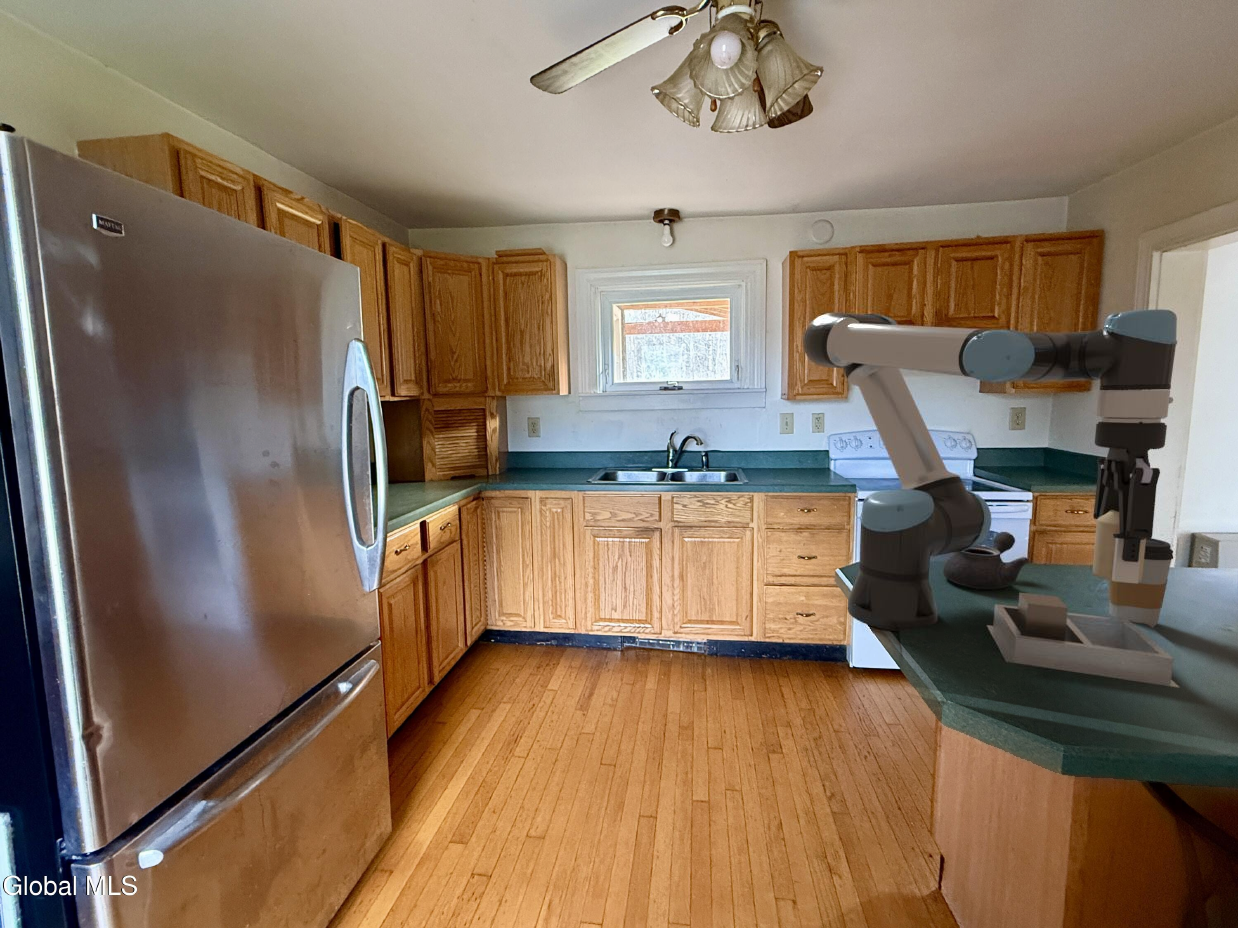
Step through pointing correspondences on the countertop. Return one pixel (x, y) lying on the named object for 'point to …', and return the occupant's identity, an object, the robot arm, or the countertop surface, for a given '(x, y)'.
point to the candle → (1109, 546)
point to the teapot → (985, 565)
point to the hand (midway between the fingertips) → (1115, 574)
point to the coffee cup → (1143, 587)
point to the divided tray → (1086, 648)
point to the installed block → (1042, 616)
